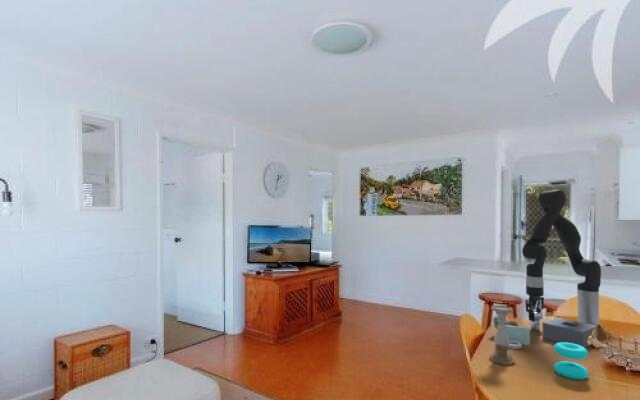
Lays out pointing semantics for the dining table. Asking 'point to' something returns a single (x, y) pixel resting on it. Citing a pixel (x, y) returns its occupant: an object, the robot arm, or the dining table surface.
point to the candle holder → (502, 337)
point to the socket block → (568, 331)
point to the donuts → (569, 367)
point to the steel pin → (536, 321)
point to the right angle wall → (518, 336)
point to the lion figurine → (509, 323)
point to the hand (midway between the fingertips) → (535, 319)
